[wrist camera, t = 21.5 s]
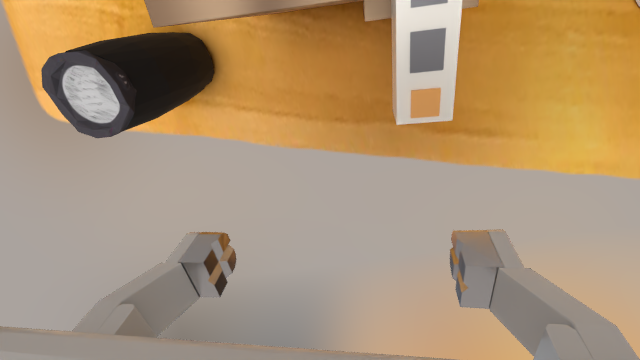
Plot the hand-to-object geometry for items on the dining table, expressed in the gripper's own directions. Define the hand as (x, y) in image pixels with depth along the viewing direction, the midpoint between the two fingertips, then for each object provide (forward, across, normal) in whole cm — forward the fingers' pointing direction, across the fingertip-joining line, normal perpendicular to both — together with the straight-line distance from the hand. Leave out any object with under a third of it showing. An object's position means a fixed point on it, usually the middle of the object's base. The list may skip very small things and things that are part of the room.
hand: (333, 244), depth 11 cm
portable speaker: (+35, +25, -2) cm, 43 cm away
